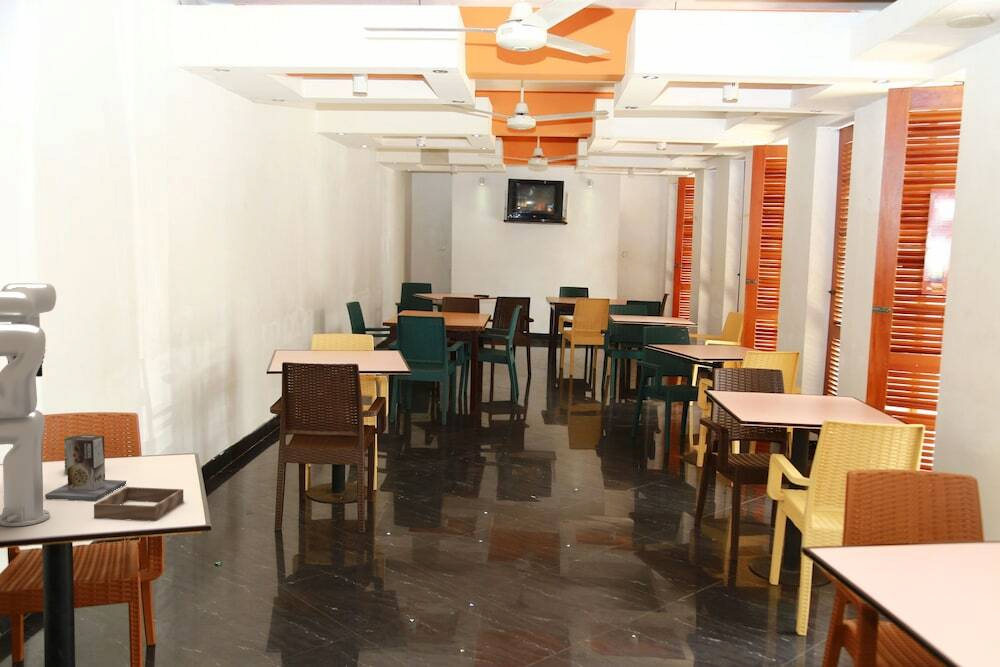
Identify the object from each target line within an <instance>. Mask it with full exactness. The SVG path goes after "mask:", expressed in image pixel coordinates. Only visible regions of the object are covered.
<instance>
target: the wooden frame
mask: <svg viewBox="0 0 1000 667" xmlns="http://www.w3.org/2000/svg"><path fill="white" fill-rule="evenodd" d="M127 500H130V501H129V502H146V501H148V502H149V503H152V502H153V503H156V504H153V505H142V504H141V505H139V504H138V505H136V504H125V503H127V502H128V501H127ZM126 501H127V502H126ZM124 502H125V503H124ZM122 503H123V504H122ZM183 503H184V489H182V488H160V487H159V488H158V487H157V488H156V487H155V488H154V487H135V486H124V487H122V488H121V489H119V490H117V492H116V491H115V492H113V493H111V494H109V495H108V496H106V497H104V498H102V499H100V500H98V501H97V502H96V503H94V504H93V519H103V518H114V519H113V520H125V519H131V520H133V521H147V520H151V522H154V521H155V522H156V521H157V520H159V519H160V518H162V517H164V516H165V515H166V514H168V513H169V512H171V511H173V510H174V509H175V508H177V507H179V506H180V505H181V504H183ZM120 504H121V505H120ZM131 520H130V521H131Z"/></svg>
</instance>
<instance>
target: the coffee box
mask: <svg viewBox="0 0 1000 667" xmlns="http://www.w3.org/2000/svg"><path fill="white" fill-rule="evenodd" d="M76 435H77V436H75V435H73V436H74V437H72V438H70V439H67V440H66V446H67V457H66V458H67V472H68V476H67V484H68V489H72V490H96V489H99V488H101V487H103V486H105V480H106V464H105V462H106V460H105V458H106V456H105V436H104V435H94V436H86V435H87V434H76Z"/></svg>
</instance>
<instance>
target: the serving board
mask: <svg viewBox="0 0 1000 667" xmlns="http://www.w3.org/2000/svg"><path fill="white" fill-rule="evenodd" d="M125 484H126V485H127V480H119V479H116V480H115V479H105V486H103V487H101V488H99V489H96V490H72V489H68V483H67V484H64V485H62V486H60V487H58V488H56V489H53V490H52V491H49V492H47V493H45V494H44V499H45V498H46V499H45V500H52V499H68V500H67V501H75V500H87V501H86V502H98V501H99V500H101V499H103V498H105V497H106V496H105V495H107V494H109V493H111V492H112V493H114V492H115V491H114V490H116V489H118V488H120V487H121V486H124V485H125ZM124 487H125V486H124ZM120 489H121V488H120ZM118 490H119V489H118ZM113 491H114V492H113ZM116 491H117V490H116ZM112 493H111V494H112ZM109 495H110V494H109ZM104 496H105V497H104ZM107 496H108V495H107ZM102 497H103V498H102ZM100 498H101V499H100ZM98 499H99V500H98ZM97 500H98V501H97Z"/></svg>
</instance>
